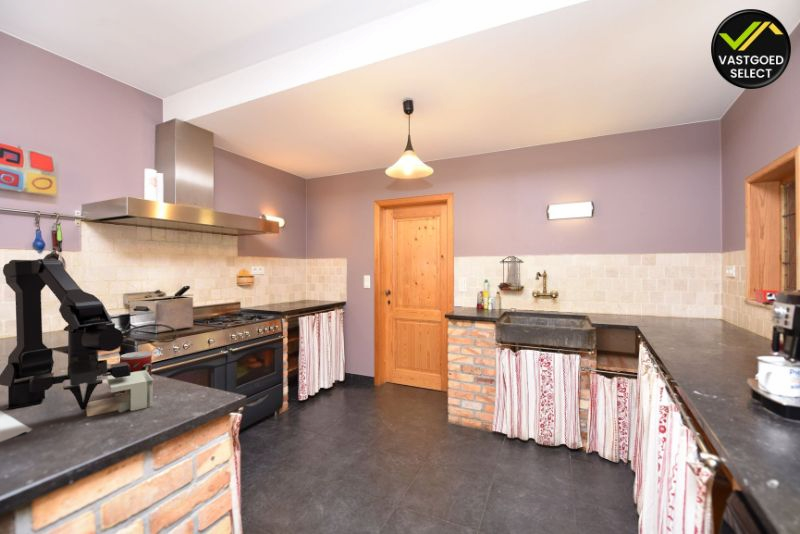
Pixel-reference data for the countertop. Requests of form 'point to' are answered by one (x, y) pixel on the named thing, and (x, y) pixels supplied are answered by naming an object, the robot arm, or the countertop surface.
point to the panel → (106, 405)
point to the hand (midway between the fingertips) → (83, 409)
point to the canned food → (138, 361)
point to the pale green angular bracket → (133, 390)
